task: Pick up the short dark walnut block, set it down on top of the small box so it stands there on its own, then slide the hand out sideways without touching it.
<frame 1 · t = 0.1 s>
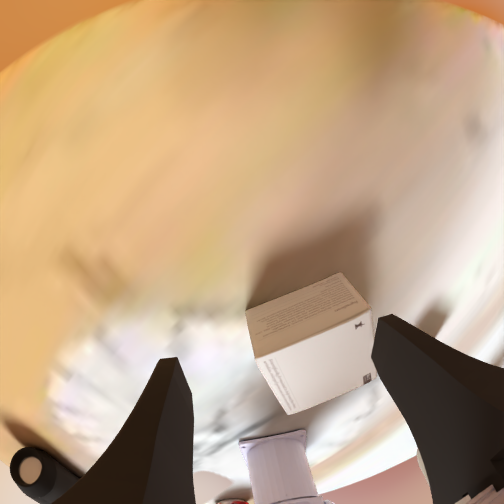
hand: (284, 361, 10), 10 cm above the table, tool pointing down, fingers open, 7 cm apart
small box: (304, 325, 22), on the table
soda can: (230, 501, 40), on the table
portable speaker: (73, 475, 33), on the table
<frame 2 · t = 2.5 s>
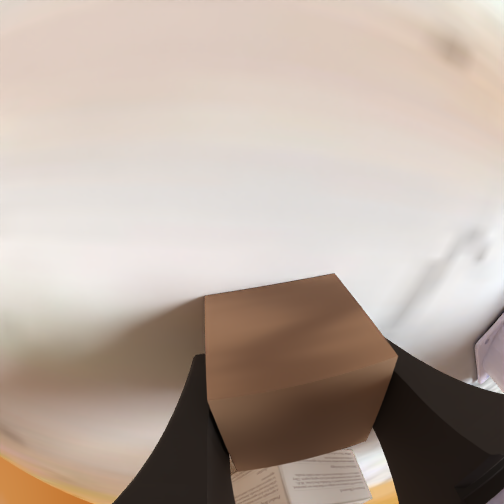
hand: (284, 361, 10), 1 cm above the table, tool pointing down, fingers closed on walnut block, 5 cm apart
small box: (284, 466, 17), on the table
walnut block: (275, 335, 11), on the table, touching gripper
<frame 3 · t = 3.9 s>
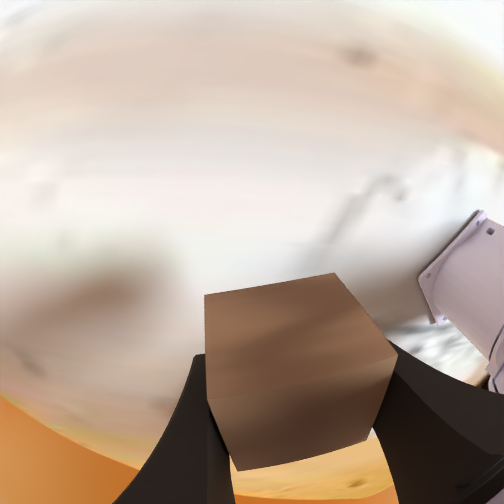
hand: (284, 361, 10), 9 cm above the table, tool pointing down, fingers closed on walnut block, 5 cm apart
walnut block: (275, 334, 11), point 8 cm above the table, touching gripper
when the fingers open (7 cm above the table, at t = 5.5 s): walnut block moves 1 cm, resting on small box.
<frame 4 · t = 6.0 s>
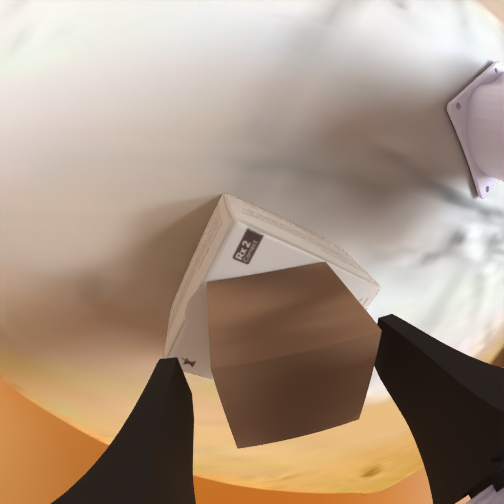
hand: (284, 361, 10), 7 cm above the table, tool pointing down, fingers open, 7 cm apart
small box: (254, 275, 17), on the table, touching walnut block
walnut block: (272, 320, 12), point 5 cm above the table, touching small box
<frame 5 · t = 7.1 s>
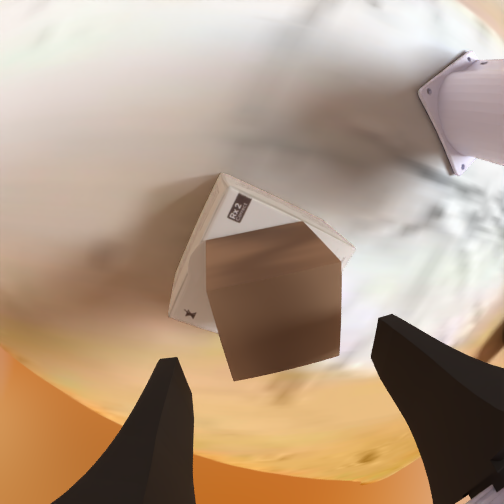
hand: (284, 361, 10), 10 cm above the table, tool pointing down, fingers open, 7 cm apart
small box: (248, 245, 19), on the table, touching walnut block
walnut block: (262, 273, 14), point 5 cm above the table, touching small box
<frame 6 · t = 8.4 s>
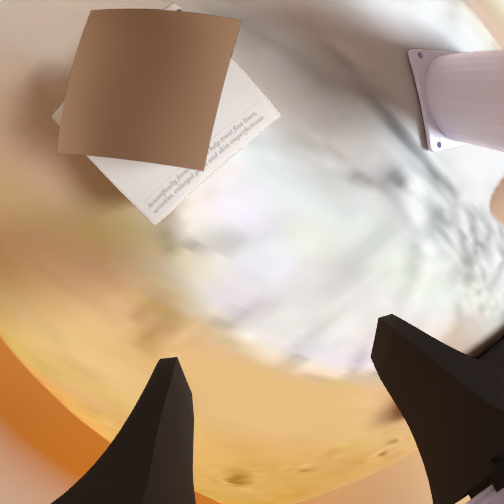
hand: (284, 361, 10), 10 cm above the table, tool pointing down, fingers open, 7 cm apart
small box: (171, 114, 15), on the table, touching walnut block
walnut block: (163, 97, 10), point 5 cm above the table, touching small box
portable speaker: (484, 355, 33), on the table
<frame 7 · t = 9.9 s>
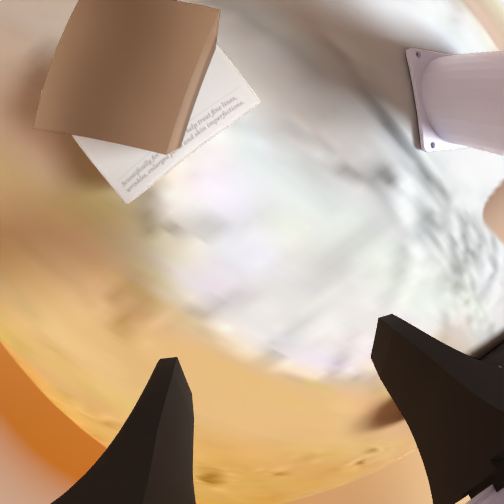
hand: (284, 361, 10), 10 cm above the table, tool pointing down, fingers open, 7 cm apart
small box: (158, 99, 15), on the table, touching walnut block
walnut block: (146, 84, 10), point 5 cm above the table, touching small box
portable speaker: (469, 368, 33), on the table
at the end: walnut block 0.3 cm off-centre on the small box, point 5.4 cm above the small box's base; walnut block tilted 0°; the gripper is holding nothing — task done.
